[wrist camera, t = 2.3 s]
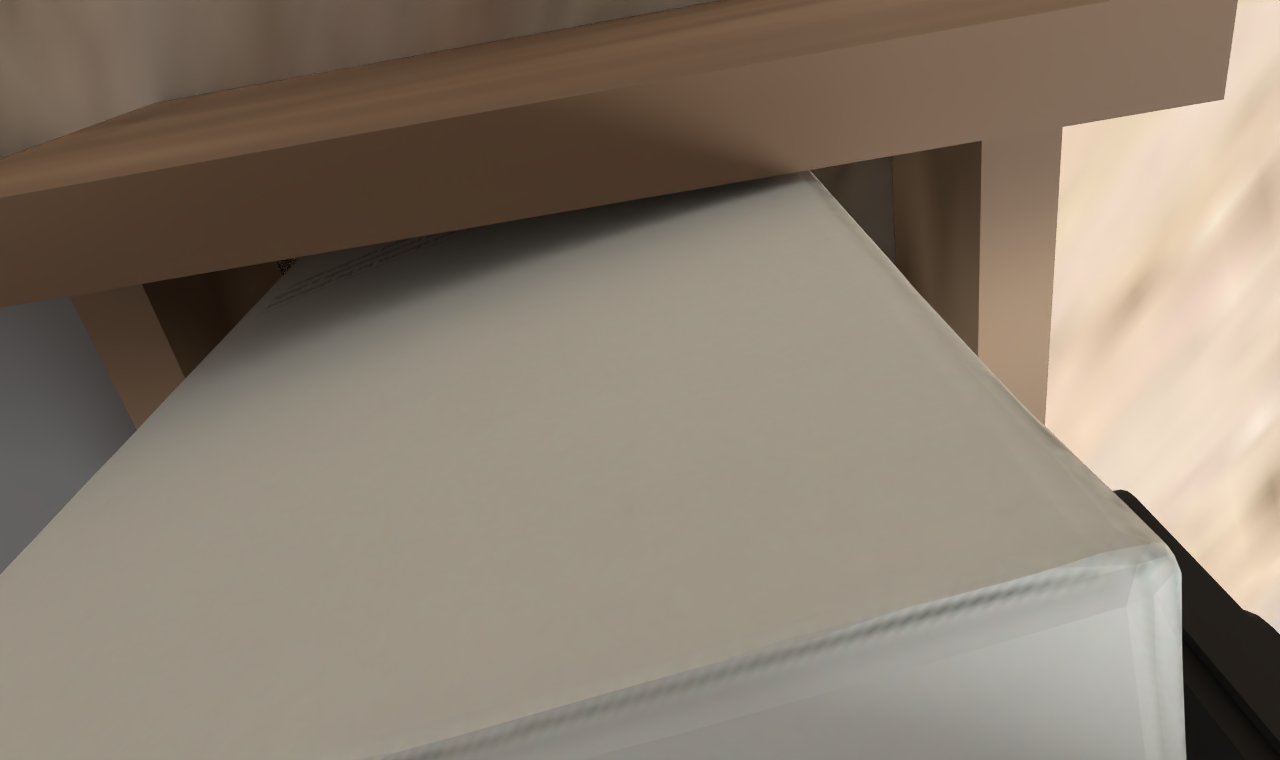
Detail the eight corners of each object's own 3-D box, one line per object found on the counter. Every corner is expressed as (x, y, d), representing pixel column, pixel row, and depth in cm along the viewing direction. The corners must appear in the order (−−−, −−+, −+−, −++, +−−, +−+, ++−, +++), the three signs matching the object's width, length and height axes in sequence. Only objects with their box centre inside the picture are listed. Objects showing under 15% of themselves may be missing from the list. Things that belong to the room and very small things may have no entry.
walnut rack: (154, 102, 14) (-208, 233, 8) (950, -41, 13) (1241, -23, 7) (435, 788, 22) (364, 1126, 16) (949, 717, 21) (1090, 1041, 15)
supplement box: (497, 529, 18) (314, 1471, 7) (331, 204, 15) (-502, 998, 4) (837, 429, 17) (1245, 1327, 6) (738, 61, 14) (1233, 541, 3)
